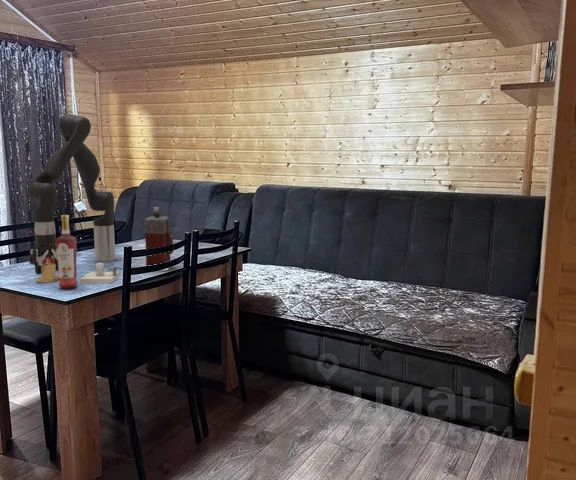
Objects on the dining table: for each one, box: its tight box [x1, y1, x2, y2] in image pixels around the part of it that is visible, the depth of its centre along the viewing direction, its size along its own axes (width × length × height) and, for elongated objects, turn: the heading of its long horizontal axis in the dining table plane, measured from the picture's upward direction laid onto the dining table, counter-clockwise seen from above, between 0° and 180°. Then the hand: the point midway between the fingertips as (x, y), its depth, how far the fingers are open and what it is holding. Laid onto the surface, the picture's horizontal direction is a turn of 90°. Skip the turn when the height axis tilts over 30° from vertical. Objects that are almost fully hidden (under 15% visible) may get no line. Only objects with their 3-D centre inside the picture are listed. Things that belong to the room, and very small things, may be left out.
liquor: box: [55, 214, 79, 290], centre depth 198 cm, size 7×7×28 cm
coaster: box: [35, 275, 60, 284], centre depth 212 cm, size 9×9×1 cm
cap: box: [40, 263, 57, 281], centre depth 210 cm, size 6×8×6 cm
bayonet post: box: [79, 262, 120, 285], centre depth 212 cm, size 12×12×7 cm
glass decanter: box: [144, 206, 174, 266], centre depth 232 cm, size 9×11×28 cm
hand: (47, 272), depth 211 cm, fingers open, 8 cm apart
